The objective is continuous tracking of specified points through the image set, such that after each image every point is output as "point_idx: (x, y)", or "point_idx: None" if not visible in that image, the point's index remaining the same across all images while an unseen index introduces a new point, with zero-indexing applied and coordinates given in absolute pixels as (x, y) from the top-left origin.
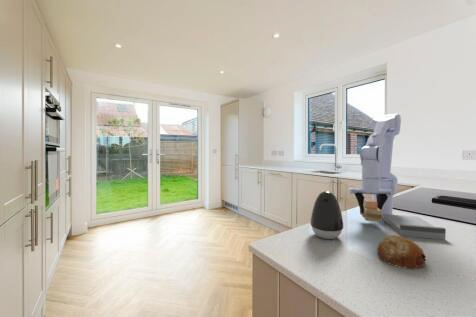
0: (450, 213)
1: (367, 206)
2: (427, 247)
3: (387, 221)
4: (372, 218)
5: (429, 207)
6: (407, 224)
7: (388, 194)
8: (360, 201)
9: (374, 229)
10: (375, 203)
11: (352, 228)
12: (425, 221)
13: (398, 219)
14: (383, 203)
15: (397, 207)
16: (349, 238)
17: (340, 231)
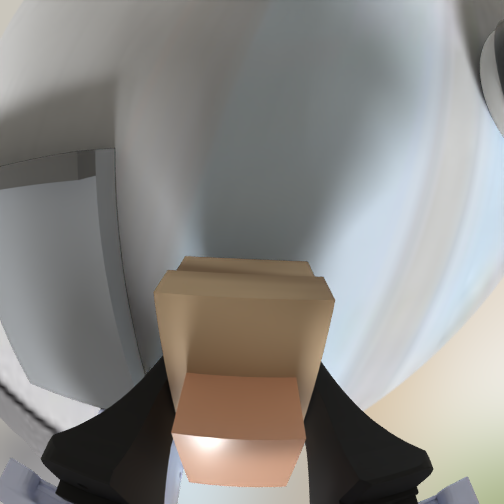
0: (3, 411)
1: (286, 391)
2: (73, 32)
3: (135, 356)
4: (255, 269)
5: (41, 448)
6: (48, 274)
7: (47, 486)
8: (369, 429)
9: (243, 227)
10: (196, 419)
11: (384, 218)
12: (4, 328)
13: (81, 351)
14: (111, 410)
15: None
16: (433, 57)
17: (493, 32)
